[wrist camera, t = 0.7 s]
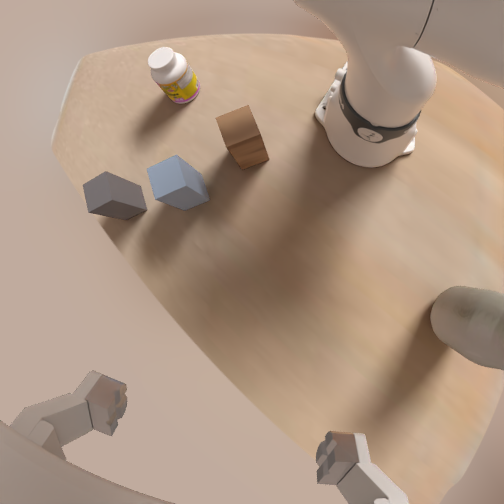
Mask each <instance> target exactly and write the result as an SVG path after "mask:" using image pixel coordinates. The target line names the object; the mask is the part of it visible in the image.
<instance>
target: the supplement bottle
mask: <svg viewBox="0 0 504 504" xmlns="http://www.w3.org/2000/svg"><path fill="white" fill-rule="evenodd" d="M148 65H149V67H150V68H151V76H152V78H153V80H154V81H155V82H156V83H157V84H158V85H159V86H160V88H161V89H162V90H163V91H164V92H165V93H166V94H167V96H168V97H169V98H170V99H171V100H172V101H173V102H175V103H179V104H182V103H187V102H190V101H191V100H193V99H194V98H195V97H196V96H197V95H198V93H199V91H200V82H199V80H198V79H197V77H196V75H195V74H194V72H193V71H192V69H191V67H190V66H189V64H188V63H187V61H186V59H185V58H184V57H183V56H182V55H181V54H179V53H175V52H173V50H172V49H171V48H168V47H162V48H159V49H157V50H155V51H154V52H153V53H152V54H151V55H150V57H149V59H148Z"/></svg>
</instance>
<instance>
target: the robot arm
mask: <svg viewBox="0 0 504 504" xmlns="http://www.w3.org/2000/svg"><path fill="white" fill-rule="evenodd" d="M293 1H294V2H295V3H296V5H297V6H299V7H300V8H302V9H304V10H306V11H307V12H309V13H311V14H312V15H314V16H315V17H316V18H317V19H319V20H320V21H321V22H323V23H324V24H325V25H326V26H327V27H328V28H329V29H330V30H331V31H332V32H333V33H334V34H335V35H336V37H337V38H338V39H339V41H340V42H341V44H342V45H343V47H344V49H345V50H346V53H347V56H348V61H347V62H346V63H345V65H344V67H343V68H342V69H341V68H339V69H338V71H337V73H336V75H335V81H334V82H333V84H332V85H331V87H330V88H329V90H328V91H327V93H326V95H325V96H324V98H323V99H322V101H321V102H320V104H319V106H318V107H317V109H316V111H315V116H316V118H317V120H318V121H319V122H320V123H321V124H322V125H323V126H324V128H325V130H326V133H327V136H328V139H329V141H330V143H331V145H332V146H333V148H334V149H335V150H336V151H337V153H338V154H339V155H341V156H342V157H343V158H344V159H346V160H347V161H349V162H351V163H353V164H356V165H359V166H363V167H379V166H383V165H385V164H387V163H389V162H391V161H392V160H393V159H395V158H396V157H398V156H400V155H406V154H409V153H411V152H413V150H414V148H415V135H416V133H417V129H416V122H417V120H418V118H419V116H420V113H421V109H422V108H423V107H424V105H425V104H426V103H427V101H428V100H429V99H430V98H431V96H432V95H433V93H434V91H435V87H436V81H437V76H436V70H435V67H434V64H433V62H432V59H431V57H433V58H435V59H438V60H440V61H442V62H444V63H446V64H448V65H450V66H452V67H454V68H456V69H458V70H460V71H461V72H463V73H465V74H467V75H469V76H471V77H473V78H475V79H478V80H481V81H483V82H486V83H488V84H491V85H494V86H496V87H500V88H502V89H504V0H293ZM430 56H431V57H430ZM324 107H325V108H326V110H324V109H323V108H324ZM126 390H127V388H126V384H125V383H122V382H120V381H117V380H115V379H112V378H110V377H108V376H105V375H103V374H100V373H98V372H96V371H91V372H89V373H88V375H87V376H86V377H85V379H84V380H83V381H82V383H81V384H80V385H79V386H78V388H77V389H76V390H75V392H74V393H73V394H71V393H68V394H66V395H62V396H60V397H57V398H54V399H51V400H48V401H45V402H42V403H38V404H35V405H32V406H29V407H26V408H24V409H23V410H22V412H21V413H20V414H19V415H18V417H17V418H16V419H15V420H14V421H13V423H12V424H11V425H10V426H8V425H6V424H5V423H3V422H2V421H1V420H0V504H174V503H171V502H167V501H164V500H160V499H157V498H154V497H151V496H148V495H145V494H142V493H139V492H137V491H134V490H131V489H128V488H125V487H123V486H121V485H118V484H115V483H113V482H111V481H108V480H106V479H104V478H101V477H99V476H97V475H94V474H92V473H90V472H88V471H86V470H84V469H82V468H79V467H78V466H75V465H73V464H72V463H69V462H67V461H66V457H65V455H64V453H63V450H62V448H61V447H62V446H64V445H66V444H68V443H69V442H71V441H73V440H75V439H77V438H79V437H81V436H83V435H85V434H86V433H88V432H90V431H92V430H93V429H94V430H97V431H99V432H102V433H104V434H107V435H110V436H112V435H113V433H114V431H115V429H116V427H117V426H118V422H117V419H120V418H122V416H123V415H124V412H125V410H126V406H127V397H126V395H125V392H126ZM316 463H317V464H318V465H319V466H320V467H319V469H318V470H317V482H318V484H329V485H337V487H338V489H339V490H340V492H341V493H342V495H343V496H344V498H345V499H346V500H347V502H348V503H349V504H409V502H408V498H407V495H406V494H405V493H404V492H403V491H402V490H401V489H400V488H399V487H398V486H397V485H396V484H395V483H394V482H393V481H391V480H390V479H389V478H388V477H387V476H386V475H385V474H384V473H383V472H382V471H381V470H380V469H379V467H378V466H377V465H376V464H375V463H371V459H370V454H369V450H368V445H367V441H366V436H365V435H364V434H362V433H350V432H336V431H329V432H328V433H327V434H326V436H325V441H323V442H321V443H320V445H319V447H318V450H317V453H316Z"/></svg>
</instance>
